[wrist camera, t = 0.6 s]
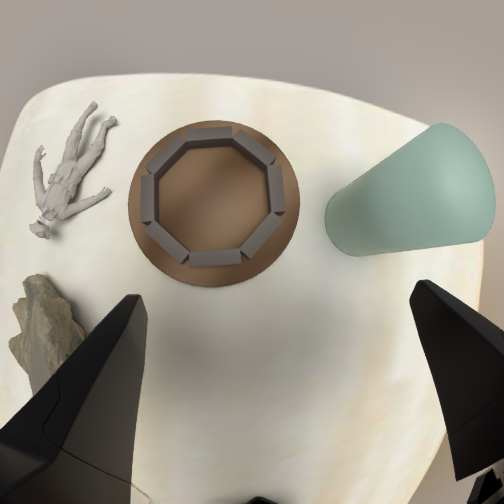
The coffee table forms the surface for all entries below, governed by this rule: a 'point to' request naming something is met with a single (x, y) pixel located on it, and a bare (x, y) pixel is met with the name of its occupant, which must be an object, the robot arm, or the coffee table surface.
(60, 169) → the soldier figure
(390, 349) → the coffee table surface
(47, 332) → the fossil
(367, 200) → the column
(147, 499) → the jar
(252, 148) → the segmented ring tray
